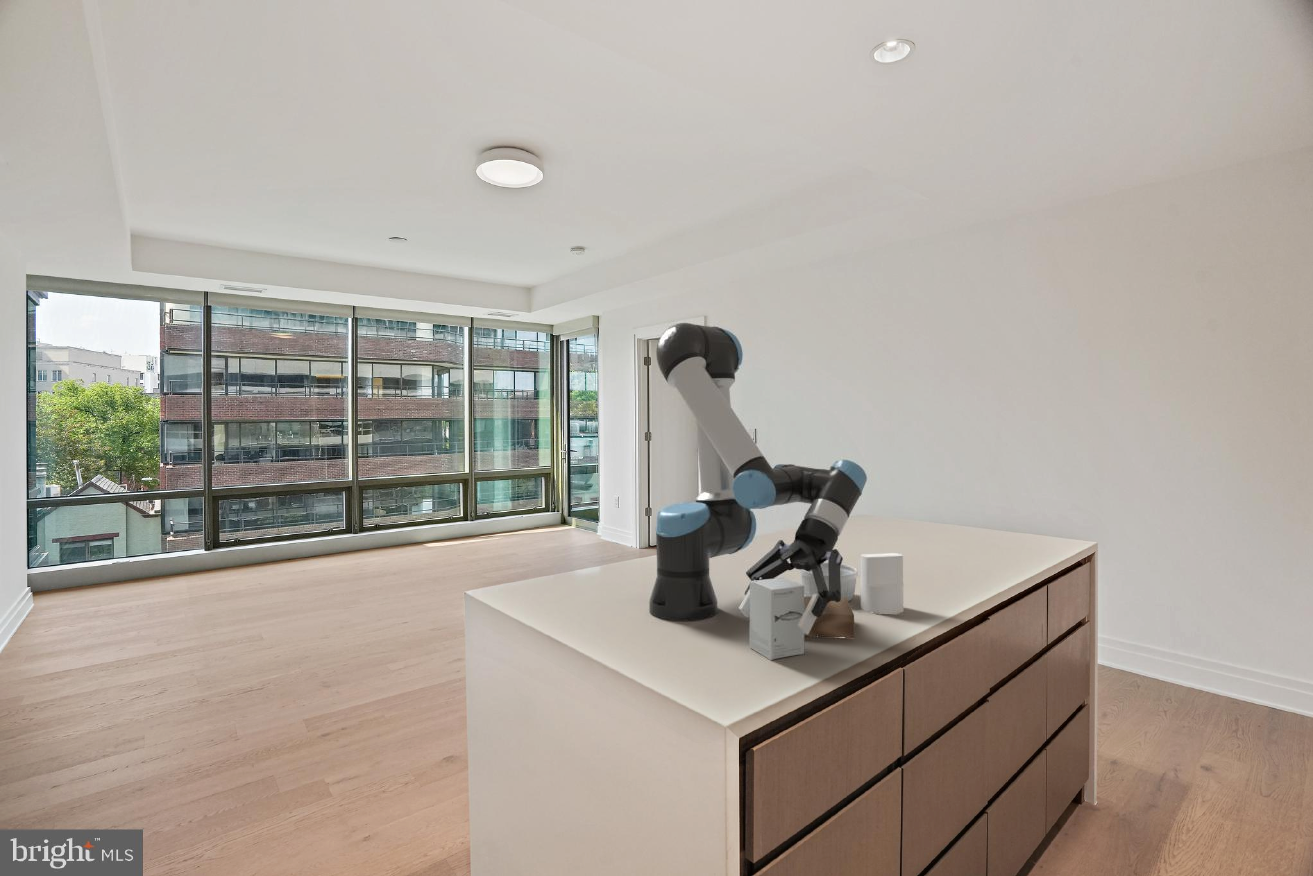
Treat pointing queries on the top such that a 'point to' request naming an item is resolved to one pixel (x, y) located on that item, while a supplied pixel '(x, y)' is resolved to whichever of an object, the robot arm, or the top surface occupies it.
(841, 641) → the top surface
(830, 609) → the walnut block
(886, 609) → the cylinder with rectangular tab
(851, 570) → the ramekin
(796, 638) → the supplement box
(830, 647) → the top surface
